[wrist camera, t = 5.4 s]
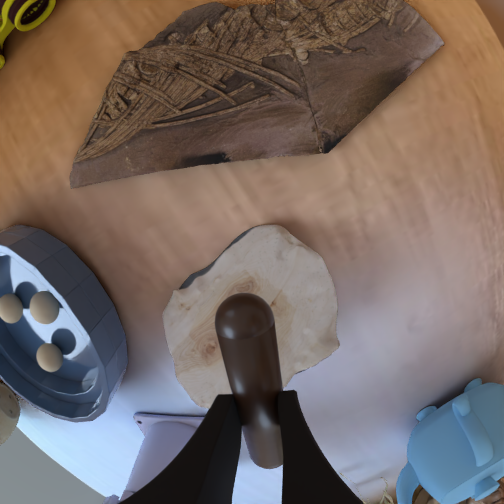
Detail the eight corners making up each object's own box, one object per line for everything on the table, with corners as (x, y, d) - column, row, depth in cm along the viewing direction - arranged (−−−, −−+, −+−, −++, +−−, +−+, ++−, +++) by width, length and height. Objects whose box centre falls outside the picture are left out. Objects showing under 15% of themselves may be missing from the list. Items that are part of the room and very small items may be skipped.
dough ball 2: (69, 313, 21) (52, 331, 18) (48, 314, 21) (32, 330, 19) (58, 284, 20) (39, 300, 18) (37, 286, 20) (19, 301, 18)
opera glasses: (-5, 85, 16) (-43, 92, 11) (-21, 49, 13) (-57, 52, 9) (71, 4, 14) (36, -7, 9) (50, -30, 11) (17, -43, 7)
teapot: (447, 452, 27) (471, 518, 16) (366, 454, 26) (383, 541, 15) (524, 364, 21) (572, 429, 11) (455, 349, 21) (516, 446, 10)
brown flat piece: (403, -29, 11) (408, -36, 10) (465, 117, 15) (474, 116, 14) (47, 99, 16) (38, 98, 15) (97, 239, 19) (89, 244, 18)
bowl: (157, 396, 24) (142, 434, 20) (32, 380, 26) (13, 405, 22) (89, 203, 18) (49, 221, 14) (-30, 239, 20) (-61, 256, 16)
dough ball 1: (32, 314, 21) (15, 329, 19) (16, 314, 22) (0, 328, 19) (21, 287, 21) (3, 301, 18) (5, 289, 21) (-12, 302, 18)
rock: (186, 239, 23) (188, 393, 22) (159, 231, 20) (163, 406, 18) (340, 230, 20) (338, 408, 18) (337, 218, 16) (334, 430, 15)
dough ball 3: (72, 361, 23) (58, 379, 20) (53, 359, 23) (40, 375, 21) (60, 337, 22) (45, 355, 20) (41, 336, 22) (27, 352, 20)
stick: (290, 444, 14) (291, 474, 12) (253, 446, 14) (251, 475, 12) (271, 279, 11) (270, 308, 9) (214, 285, 11) (203, 314, 9)
